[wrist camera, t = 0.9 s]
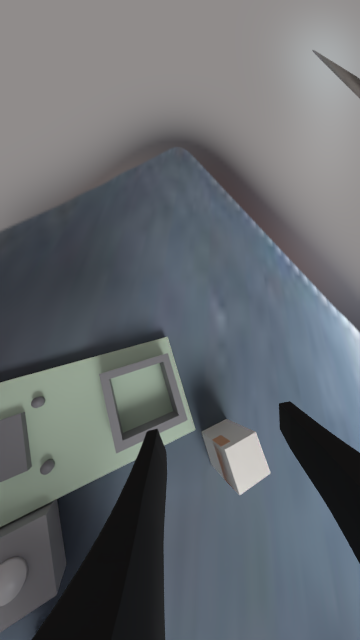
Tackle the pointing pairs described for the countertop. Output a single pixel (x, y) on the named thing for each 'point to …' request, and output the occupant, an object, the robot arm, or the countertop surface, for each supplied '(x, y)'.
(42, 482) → the board
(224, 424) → the plug
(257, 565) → the countertop surface
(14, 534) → the button housing
